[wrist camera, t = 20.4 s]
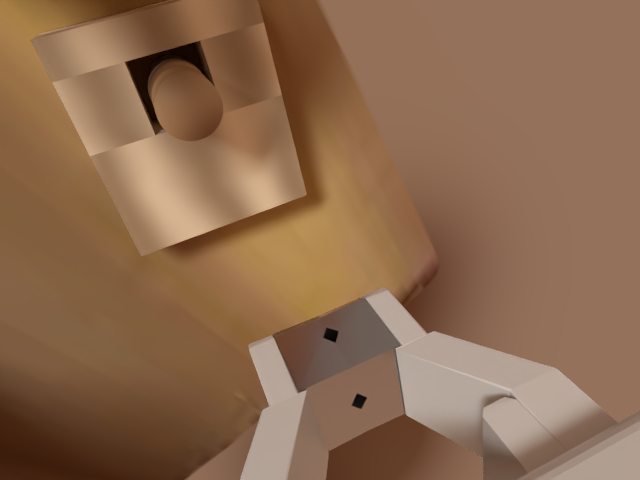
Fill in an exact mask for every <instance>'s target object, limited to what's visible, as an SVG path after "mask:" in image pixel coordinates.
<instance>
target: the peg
mask: <svg viewBox="0 0 640 480" xmlns="http://www.w3.org/2000/svg"><path fill="white" fill-rule="evenodd" d="M148 93H149V96H150V99H151V101H152V103H153V106H154V109H155V113H156V116H157V119H158V121H159V123H160V124H161V126H162V127H163V129H164V130H165V131H166V132H167V133H169V134H170V135H171V136H173V137H175V138H177V139H180V140H184V141H198V140H201V139H204V138H206V137H208V136H209V135H211V134H212V133H213V132H214V131H215V130H216V129H217V128H218V126H219V124H220V122H221V120H222V116H223V103H222V99H221V96H220V94H219V92H218V90H217V89H216V88H215V86H214V85H213V84H212V83H211V82H210V81H209V80H208V79H207V78H206V77H205V76H204V75H203V73H202V72H201V71H200V70H199V69H198V68H197V67H196V66H195V65H194V64H192V63H191V62H189V61H186V60H184V59H183V58H181V57H179V56H176V55H164V56H161V57H159V58H157V59H156V60H155V61H154V62H153V63H152V65H151V66H150V69H149V72H148Z"/></svg>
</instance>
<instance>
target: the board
mask: <svg viewBox="0 0 640 480" xmlns="http://www.w3.org/2000/svg"><path fill="white" fill-rule="evenodd" d="M31 42H32V44H33V46H34V48H35V50H36V52H37V54H38V56H39V57H40V59H41V61H42V63H43V65H44V67H45V69H46V71H47V73H48V75H49V77H50V79H51V81H52V83H53V85H54V87H55V89H56V91H57V93H58V95H59V97H60V98H61V100H62V102H63V104H64V106H65V108H66V110H67V112H68V114H69V116H70V118H71V120H72V122H73V124H74V126H75V128H76V130H77V132H78V134H79V136H80V138H81V139H82V141H83V143H84V145H85V147H86V149H87V151H88V153H89V155H90V157H91V159H92V161H93V163H94V165H95V167H96V169H97V171H98V173H99V175H100V177H101V179H102V181H103V182H104V184H105V186H106V188H107V190H108V192H109V194H110V196H111V198H112V200H113V202H114V204H115V206H116V208H117V210H118V212H119V214H120V216H121V218H122V220H123V222H124V223H125V225H126V227H127V229H128V231H129V233H130V235H131V237H132V239H133V241H134V243H135V245H136V247H137V249H138V251H139V253H140V255H141V256H144V255H147V254H149V253H152V252H155V251H157V250H160V249H163V248H165V247H168V246H171V245H174V244H176V243H179V242H182V241H184V240H187V239H190V238H192V237H195V236H198V235H201V234H203V233H206V232H209V231H211V230H214V229H217V228H219V227H222V226H225V225H228V224H230V223H233V222H236V221H238V220H241V219H244V218H246V217H249V216H252V215H255V214H257V213H260V212H263V211H265V210H268V209H271V208H273V207H276V206H279V205H281V204H284V203H287V202H290V201H292V200H295V199H298V198H300V197H303V196H306V195H307V193H306V189H305V185H304V181H303V177H302V173H301V169H300V165H299V161H298V157H297V153H296V149H295V145H294V141H293V137H292V133H291V129H290V125H289V121H288V117H287V113H286V109H285V105H284V101H283V97H282V93H281V89H280V85H279V81H278V77H277V73H276V69H275V65H274V61H273V57H272V53H271V49H270V45H269V41H268V37H267V33H266V29H265V25H264V21H263V17H262V13H261V9H260V5H259V1H258V0H167V1H163V2H159V3H156V4H152V5H148V6H144V7H140V8H136V9H133V10H129V11H125V12H121V13H117V14H114V15H110V16H106V17H102V18H98V19H94V20H91V21H87V22H83V23H79V24H75V25H72V26H68V27H64V28H60V29H56V30H52V31H49V32H45V33H41V34H39V35H37V36H36V37H34V38H33V39H32V40H31ZM193 42H194V43H195V46H196V49H197V52H198V55H199V58H200V61H201V64H202V67H203V70H204V73H205V76H206V78H207V79H208V80H209V81H210V82H211V83H212V84H213V85H214V86H215V88H216V89H217V90H218V92H219V94H220V96H221V99H222V103H223V116H222V120H221V122H220V124H219V126H218V128H217V129H216V130H215V131H214V132H213V133H212V134H211V135H209V136H208V137H206V138H204V139H201V140H198V141H184V140H180V139H177V138H175V137H173V136H171V135H170V134H169V133H167V132H166V131H165V130H164V129H163V127H162V126H161V124H160V123H159V121H158V119H157V120H154V121H151V119H150V116H149V114H148V111H147V109H146V107H145V104H144V102H143V99H142V97H141V94H140V92H139V90H138V87H137V85H136V82H135V80H134V78H133V75H132V73H131V70H130V68H129V66H128V63H127V61H130V60H133V59H137V58H140V57H144V56H148V55H151V54H155V53H158V52H162V51H165V50H169V49H172V48H176V47H179V46H183V45H186V44H190V43H193Z"/></svg>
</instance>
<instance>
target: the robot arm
mask: <svg viewBox="0 0 640 480" xmlns="http://www.w3.org/2000/svg"><path fill="white" fill-rule="evenodd" d="M248 346H249V351H250V354H251V357H252V359H253V362H254V365H255V368H256V370H257V373H258V376H259V379H260V381H261V384H262V387H263V390H264V392H265V395H266V398H267V401H268V403H269V406H270V407H268V408H265V409H263V410H262V413H261V416H260V419H259V422H258V425H257V428H256V431H255V435H254V437H253V440H252V444H251V447H250V450H249V453H248V456H247V459H246V462H245V465H244V468H243V472H242V474H241V478H240V480H326V473H327V465H328V456H329V454H328V451H329V450H331V449H334V448H335V447H337V446H339V445H341V444H343V443H345V442H347V441H349V440H351V439H353V438H354V437H356V436H358V435H360V434H362V433H364V432H365V431H368V430H370V429H372V428H374V427H377V426H379V425H381V424H383V423H385V422H387V421H390V420H392V419H394V418H396V417H398V416H401V415H403V414H405V413H406V415H407V416H409V417H410V418H412V419H414V420H416V421H418V422H419V423H421V424H423V425H425V426H427V427H429V428H430V429H432V430H434V431H436V432H438V433H440V434H441V435H443V436H445V437H447V438H448V439H450V440H452V441H454V442H456V443H458V444H459V445H461V446H463V447H465V448H467V449H468V450H470V451H472V452H474V453H476V454H477V455H480V456H481V457H483V476H484V477H483V479H484V480H640V411H639V412H637V413H635V414H633V415H631V416H630V417H628V418H626V419H624V420H622V421H621V422H619V423H618V422H617V421H616V420H614V419H613V418H612V417H611V416H610V415H609V414H607V412H605V411H604V410H603V409H602V408H601V407H600V406H598V405H597V404H596V403H595V402H594V401H593V400H592V399H591V398H589V397H588V396H587V395H586V394H585V393H584V392H583V391H582V390H580V389H579V388H578V387H577V386H576V385H575V384H574V383H572V382H571V381H570V380H569V379H568V378H567V377H565V376H564V375H563V374H562V373H561V372H560V371H559V370H557V369H556V368H553V367H550V366H546V365H543V364H540V363H537V362H533V361H530V360H527V359H524V358H520V357H517V356H514V355H511V354H507V353H504V352H501V351H497V350H494V349H491V348H488V347H485V346H481V345H478V344H475V343H472V342H468V341H465V340H462V339H459V338H455V337H452V336H449V335H445V334H442V333H439V332H435V331H433V332H431V333H429V334H427V333H426V332H425V331H424V329H423V328H422V327H421V326H420V325H419V324H418V323H417V322H416V320H415V319H414V318H413V317H412V316H411V315H410V314H409V313H408V311H407V310H406V309H405V308H404V307H403V306H402V305H401V304H400V303H399V301H398V300H397V299H396V298H395V297H394V296H393V295H392V294H391V293H390V291H389V290H388V289H386V288H384V287H382V288H380V289H378V290H375V291H373V292H371V293H369V294H367V295H364V296H362V298H358V299H356V300H354V301H351V302H349V303H347V304H345V305H342V306H340V307H338V308H335V309H333V310H331V311H329V312H326V313H324V314H322V315H319V316H317V317H315V318H312V319H310V320H307V321H305V322H302V323H300V324H297V325H295V326H292V327H290V328H287V329H285V330H282V331H280V332H277V333H275V334H273V336H269V337H266V338H264V339H261V340H259V341H256V342H254V343H251V344H249V345H248Z"/></svg>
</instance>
